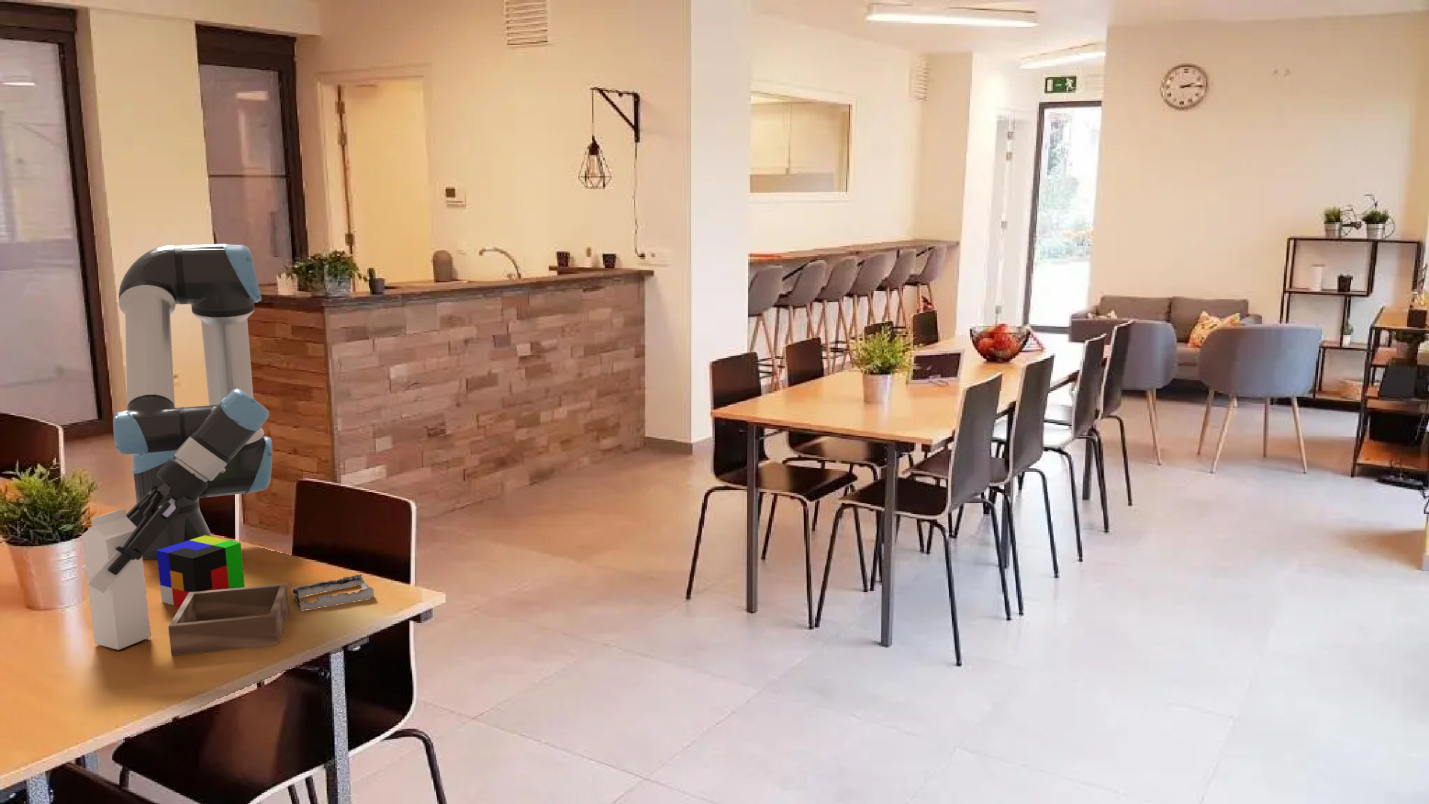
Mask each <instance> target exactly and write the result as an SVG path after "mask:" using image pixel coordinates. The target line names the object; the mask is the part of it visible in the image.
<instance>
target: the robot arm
mask: <svg viewBox="0 0 1429 804" xmlns="http://www.w3.org/2000/svg"><path fill="white" fill-rule="evenodd" d="M132 263H133V264H131V266H130V267H129V269H128V270H127V271H126V272H125V274H124V276H123V278H122V280H121V282H120V285H119V292H118V307H119V309H120V311H121V312H122V314H124V315H125V316H124V317H125V319H124V321H125V323H124V325H125V327H124V328H125V365H126V366H125V371H126V374H125V375H126V410H124V411H119V412H115V414H114V415H113V417H112V418H113V419H112V426H113V427H112V428H113V438H114V439H113V440H114V444H115V449H116V450H117V452H118V453H120V454H123V455H132V459H131V460H132V470H131V472H132V473H131V474H133V479H134V491H135V500H136V504H135V505H134V506H133V507H132V508H131V509H130V510H129V511H127V512H126V515H127V518H128V519H129V520H130V521H131V522H132V523H133V524H134V525H135V526H136V527H137V528H136V529H135V530H134V532H133V533H132V535H131V536H130V537H129V539H128V540H127V541H126V543H125V544H124V546H123V547H120V546H118V547H116V550H117V551H116V552H115V553H114V554H113V555H112V556H111V558H110V559H109V560H108V561H107V562H106V563H105V564H104V565H103V566H102V568H101V569H100V570H99V571H98V572H97V573H96V574H95V575H94V576H93V578H92V579H91V580H90V581H89V582H87V585H88V584H89V585H90V586H92V587H94V588H95V589H97V590H99V591H100V592H102V593H104V592H105V591H106V590H107V588H108V587H109V586H110V585H111V584H112V583H113V582H114V581H115V579H116V578H117V577H118V576H119V575H120V574H121V573H122V572H123V570H124V569H125V568H126V567H127V566H128V565H129V564H130V563H131V561H132V560H135V559H136V560H139V559H140V558H141V557H142V558H143V560H152V561H153V560H155V561H156V560H157V551H156V550H159V549H162V548H165V547H169V546H172V545H175V544H178V543H182V542H185V541H188V540H191V539H195V538H198V537H201V536H204V535H206V536H210V537H212V533H211V531H210V529H209V527H208V525H207V523H206V521H205V518H204V516H203V514H202V512H201V509H200V499H201V498H209V497H210V498H211V497H221V496H232V495H242V494H245V495H248V494H250V493H256V492H262V491H265V490H266V489H267V488H268V487H269V485H270V483H271V479H272V469H273V467H272V466H273V441H272V438H271V437H269V436H265V432H264V429H263V428H262V426H263V425H264V423H266V421H267V420H268V418H269V416H270V412H269V410H268V409H267V408H266V407H265V406H264V405H262V404H261V403H260V402H258V401H257V400H256V399H255V398H254V388H253V377H252V376H253V375H252V373H253V372H252V362H251V361H252V360H251V350H250V349H251V348H250V338H249V337H250V336H249V325H248V324H249V323H248V318H249V317H250V316H251V315H253V313H254V312H255V310H256V309H255V303H259V302H261V301H262V295H261V290H260V287H259V281H258V276H257V273H256V268H255V263H254V259H253V256H252V251H251V249H250V248H249V247H248V246H246V245H245V244H228V243H227V244H226V243H215V244H214V243H210V244H182V245H180V244H179V245H177V244H176V245H175V244H168V245H162V246H158V247H155V248H152V249H150V250H149V251H147V252H145V253H144V254H143V255H141V256H140V257H138V258H137V259H136V260H135V261H134V262H132ZM176 305H191V313H192V315H194V316H195V317H197V318H198V319H199V320H200V321H201V323H200V324H201V333H202V343H203V345H202V346H203V353H204V354H203V355H204V363H205V365H204V366H205V375H206V384H207V385H206V386H207V387H206V388H207V394H208V396H207V397H208V405H199V406H197V405H196V406H185V407H184V406H183V407H182V406H181V407H176V406H175V405H176V404H175V387H174V386H175V385H174V384H175V383H174V369H173V368H174V363H173V346H172V343H173V342H172V324H171V322H172V321H171V316H172V314H173V313H174V311H175V310H176ZM81 568H82V570H84V571H86V565H85V564H84V565H83V566H82V567H81Z"/></svg>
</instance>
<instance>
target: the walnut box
mask: <svg viewBox="0 0 1429 804" xmlns="http://www.w3.org/2000/svg"><path fill="white" fill-rule="evenodd" d="M289 611H290V606H289V593H288V584H287V583H278V584H277V583H276V584H267V585H255V586H245V587H243V588H232V589H221V590H209V591H198V592H189V593H188V595H187V597H186V598H185V600H184V602H183V603H182V605H181V607H179V608H178V610H177V611H176V613H175V615H174V616H173V619H172V620H171V622H170V623H169V625H168V626H167V627H168V636H169V645H170V655H171V657H172V656H173V657H174V656H183V655H193V654H203V653H212V652H213V653H214V652H221V651H223V652H224V651H230V650H231V651H232V650H241V649H252V648H259V647H261V648H262V647H268V646H269V647H270V646H278V645H279V641H280V639H281V635H282V633H283V630H284V627H283V626H285V624H284V623H286V621H285V620H286V619H287V617H288V615H289Z"/></svg>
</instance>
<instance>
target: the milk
mask: <svg viewBox="0 0 1429 804" xmlns="http://www.w3.org/2000/svg"><path fill="white" fill-rule="evenodd" d="M126 514H127V510H126V509H125V508H123V509H119V510H118V509H117V510H114V511H111V512H107V513H105V514H101V515H97V516H94V517H92V518H91V527H90V528H89V529H87V530H86V531H85V532H84V533H82V534H81V539H82V547H83V554H84V565H86V570H85V572H86V580H87V581H86V582H87V587H88V596H89V597H88V598H89V608H90V613H91V614H90V615H91V623H92V630H93V640H94V644H95V645H98V646H101V647H102V646H103V647H107V648H109V649H113V650H117V651H119V650H122V649H125V648H127V647H129V646H132V645H134V644H137V643H139V642H142V641H144V640H147V639H149V638H151V636H152V634H151V626H150V623H151V622H150V616H149V615H150V614H149V606H148V597H147V588H146V587H147V586H146V580H145V579H146V578H145V570H144V568H145V567H144V559H143V558H142V557H141V558H140V559H139V560H136V559H135V560H132V561H131V563H130V564H129V565H128V566H127V567H126V568H125V569H124V570H123V572H122V573H121V574H120V575H119V576H118V577H117V578H116V579H115V581H114V582H113V583H112V584H111V585H110V586H109V587H108V588H107V590H106V591H105V592H104V593H102V592H100V591H99V590H97V589H95V588H94V587H92V586H90V585H89V584H88V582H89V581H90V580H91V579H92V578H93V576H94V575H95V574H96V573H97V572H98V571H99V570H100V569H101V568H102V566H103V565H104V564H105V563H106V562H107V561H108V560H109V559H110V558H111V556H112V555H113V554H114V553H115V552H116V551H117V550H116V547H118V546H120V547H123V546H124V544H125V543H126V541H127V540H128V539H129V537H130V536H131V535H132V533H133V532H134V530H135V529H136V528H137V527H136V526H135V525H134V524H133V523H132V522H131V521H130V520H129V519H128V518H127V515H126Z"/></svg>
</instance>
